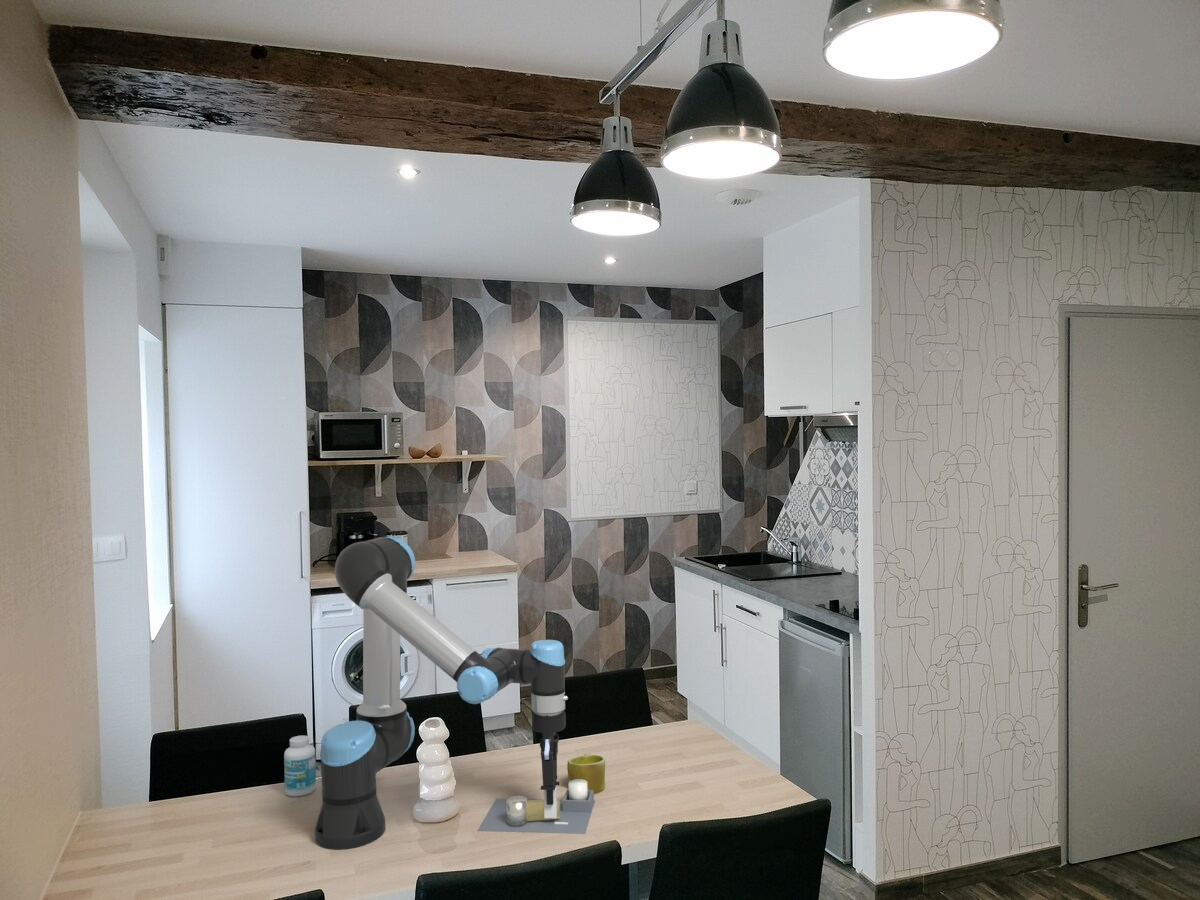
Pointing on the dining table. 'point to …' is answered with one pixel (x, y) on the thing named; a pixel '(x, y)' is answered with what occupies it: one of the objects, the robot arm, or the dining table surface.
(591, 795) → the board
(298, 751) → the pill bottle
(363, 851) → the dining table surface
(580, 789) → the button
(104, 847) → the dining table surface
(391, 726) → the robot arm
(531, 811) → the grey and tan piece
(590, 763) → the mug
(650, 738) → the dining table surface
